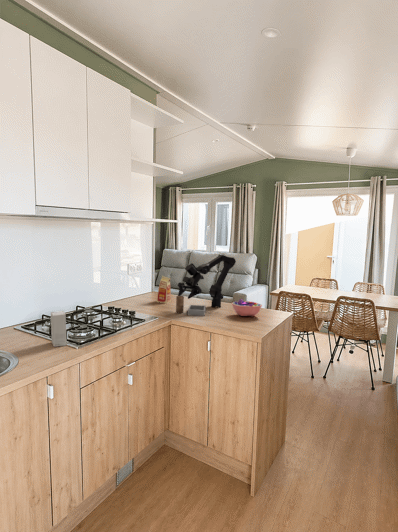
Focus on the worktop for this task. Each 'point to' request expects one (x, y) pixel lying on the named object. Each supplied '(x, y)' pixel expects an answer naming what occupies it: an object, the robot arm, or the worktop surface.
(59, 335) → the skincare box
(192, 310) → the box
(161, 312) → the worktop surface
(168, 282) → the milk carton
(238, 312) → the cell model
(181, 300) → the walnut cylinder
